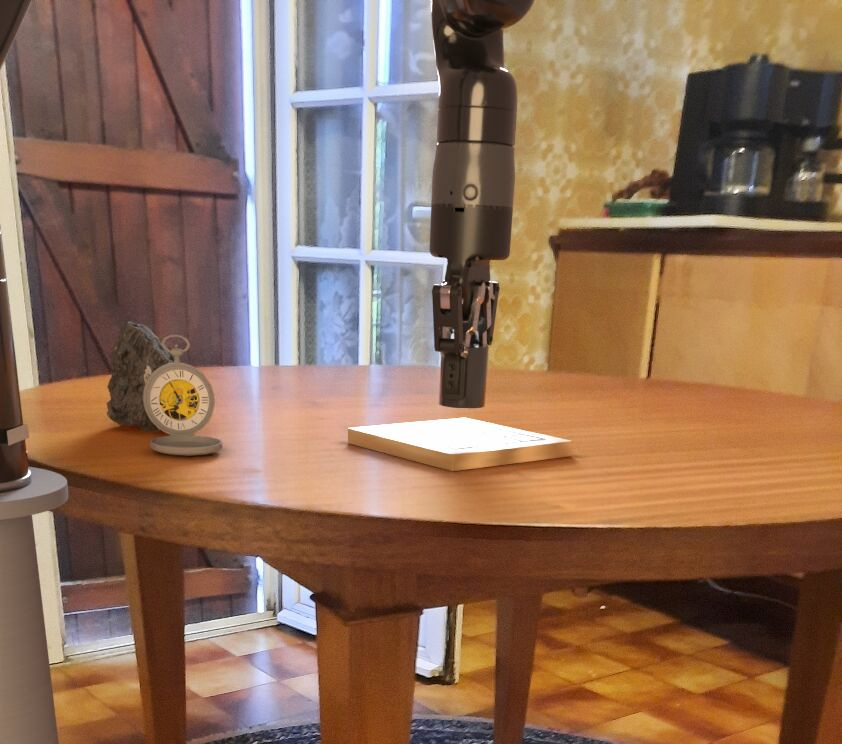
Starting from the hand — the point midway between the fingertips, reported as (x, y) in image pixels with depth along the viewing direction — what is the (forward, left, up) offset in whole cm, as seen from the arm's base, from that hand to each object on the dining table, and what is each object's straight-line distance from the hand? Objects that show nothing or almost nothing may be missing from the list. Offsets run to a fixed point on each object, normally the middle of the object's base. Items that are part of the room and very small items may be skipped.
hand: (461, 395), depth 105 cm
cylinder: (0, 0, -1) cm, 1 cm away
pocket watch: (-24, +12, -5) cm, 27 cm away
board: (0, 0, -5) cm, 5 cm away
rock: (-20, +24, -5) cm, 32 cm away
